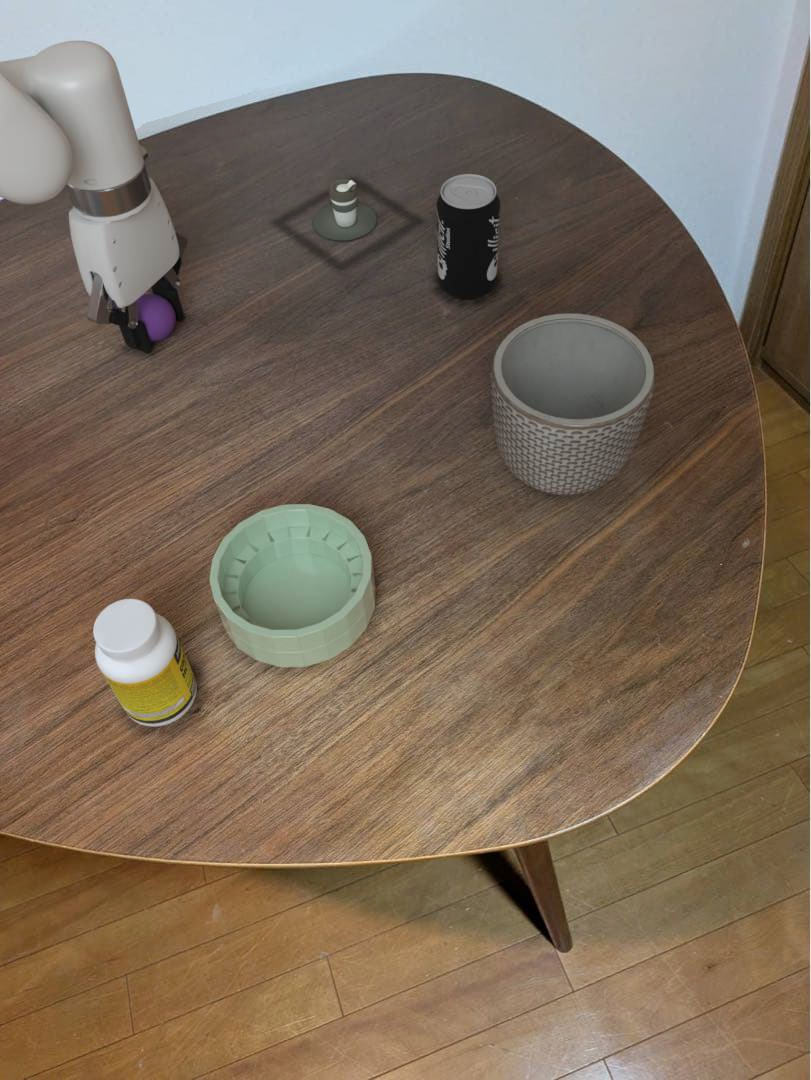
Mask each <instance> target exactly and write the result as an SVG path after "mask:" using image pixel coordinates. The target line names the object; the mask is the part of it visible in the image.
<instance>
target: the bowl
mask: <svg viewBox="0 0 811 1080" xmlns="http://www.w3.org/2000/svg"><path fill="white" fill-rule="evenodd" d="M374 572H375V571H374V564H373V556H372V553H371V550H370V547H369V545H368V542H367V539H366V536H365V535H364V534H363V533H362V532H361V530H360V529H359V528H358V527H357V526H356V525H355V523H353V521H352V520H350V519H349V518H347V517H345V516H344V515H342V514H340V513H338V512H337V511H335V510H333V509H331V508H328V507H323V506H319V505H314V504H312V503H292V504H291V503H290V504H289V503H288V504H280V505H276V506H273V507H270V508H265V509H262V510H259V511H258V512H256V513H254V514H252V515H251V516H249V517H247V518H246V519H244V520H242V521H240V522H238V523H237V525H235V527H234V528H233V529H232V530H231V531H229V532H228V533H227V534H226V535H225V536H224V537H223V539H222V540H221V541H220V544H219V546H218V547H217V549H216V551H215V553H214V555H213V557H212V559H211V565H210V572H209V577H208V578H209V584H210V589H211V592H212V593H211V594H212V597H213V601H214V603H215V606H216V609H217V612H218V614H219V617H220V620H221V622H222V626H223V628H224V630H225V632H226V634H227V635H228V636H229V638H230V639H231V641H232V642H233V643H234V645H235V646H236V648H238V649H239V650H240V651H242V652H243V653H244V654H246V655H247V656H248V657H251V658H252V659H253V660H255V661H257V662H260V663H264V664H267V665H271V666H274V667H278V668H306V667H309V666H313V665H317V664H320V663H323V662H326V661H330V660H332V659H333V658H334V657H337V656H338V655H340V654H341V653H343V652H344V651H346V650H347V649H349V648H350V647H352V646H353V645H354V643H355V642H356V641H357V640H358V639H359V638H360V637H361V636H362V634H363V633H364V632H365V631H366V630H367V628H368V626H369V624H370V621H371V619H372V616H373V614H374V611H375V609H376V608H375V607H376V590H377V589H376V581H375V573H374Z"/></svg>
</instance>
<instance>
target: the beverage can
mask: <svg viewBox="0 0 811 1080" xmlns="http://www.w3.org/2000/svg"><path fill="white" fill-rule="evenodd" d="M497 191H498V190H497V186H496V184H495V183H494V182H493V181H492V179H489V178H488V177H486V176H483V175H480V174H474V173H464V174H458V175H455V176H452V177H449V178H448V179H447V180H445V182H444V183H443V184H442V185H441V187H440V194H439V196H438V197H437V200H436V246H437V247H436V248H437V249H436V250H437V281H438V284H439V287H440V288H441V289H442V290H443V291H444V292H446V293H447V294H448V295H449V296H450V297H451V298H452V297H453V298H455V299H457V300H461V301H462V300H464V301H470V300H471V301H472V300H476V299H480V298H481V297H484V296H486V295H487V294H488V293H489V292H491V291H492V290H493V289H494V288H495V286H496V284H497V281H498V268H499V267H498V265H499V244H500V242H499V241H500V240H499V239H500V217H501V199H500V197H499V195H498V193H497Z"/></svg>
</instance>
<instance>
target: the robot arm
mask: <svg viewBox="0 0 811 1080" xmlns="http://www.w3.org/2000/svg"><path fill="white" fill-rule="evenodd" d="M148 157H149V153H148V151H147V149H146V148H145V147H144V146H143V145H140V142H139V137H138V135H137V132H136V128H135V124H134V120H133V117H132V114H131V110H130V107H129V103H128V99H127V96H126V93H125V88H124V85H123V82H122V78H121V75H120V71H119V68H118V66H117V62H116V61H115V59H114V57H113V56H112V54H111V53H110V52H109V51H108V50H107V49H105V47H103V46H102V45H100V44H98V43H95V42H93V41H87V40H67V41H62V42H58V43H55V44H52V45H49V46H47V47H46V48H44V49H42V50H40V51H39V52H38V53H36V54H35V55H32V56H31V55H30V56H26V57H22V58H16V59H9V60H4V61H3V60H2V61H0V198H2V199H4V200H7V201H9V202H12V203H15V204H19V205H37V204H42V203H46V202H48V201H50V200H52V199H53V198H56V196H58V195H59V194H60V193H61V192H62V191H63V190H64V189H65V187H66V189H67V192H68V195H69V198H70V200H71V203H72V206H73V207H72V208H71V209H70V211H68V222H69V223H68V224H69V225H68V226H69V232H70V237H71V238H70V239H71V243H72V248H73V251H74V256H75V259H76V263H77V266H78V270H79V274H80V276H81V280H82V283H83V285H84V288H85V290H86V293H87V294H88V296H89V297H90V298H89V301H88V302H89V303H88V307H87V314H86V318H87V320H88V321H90V322H93V323H96V324H98V325H109V324H110V325H111V324H112V325H115V326H118V327H119V330H120V332H121V335H122V339H123V340H124V343H125V345H126V346H127V347H129V349H133V350H137V351H139V352H143V353H145V354H147V355H149V354H151V352H152V351H153V345H152V342H151V341H150V340H149V337H148V334H147V331H146V327H145V325H144V323H143V322H141V321H139V320H138V311H137V299H138V298H139V297H141V296H142V295H144V294H146V292H147V291H148V290H150V289H151V291H152V294H156V295H159V296H162V297H163V298H165V299H166V300H167V301H169V303H170V304H171V305H172V307H173V309H174V311H175V315H176V322H179V323H180V322H181V323H182V322H183V321H184V320H185V319H186V316H185V312H184V309H183V305H182V301H181V298H180V294H179V292H178V288H179V287H180V286H181V279H180V277H179V273H180V270H181V267H182V263H183V260H182V257H183V255H184V252H185V250H186V247H187V244H188V238H187V237H186V236H184V235H182V234H180V233H179V232H176V230H175V226H174V224H173V222H172V218H171V216H170V213H169V210H168V207H167V206H166V203H165V201H164V199H163V197H162V194H161V192H160V190H159V189H158V187H157V185H156V184H155V182H154V180H153V179H152V178H151V177H150V176H149V173H148V171H147V167H146V162H145V161H146V159H148ZM124 308H125V309H124ZM122 309H124V311H123V310H122Z"/></svg>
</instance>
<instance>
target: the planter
mask: <svg viewBox="0 0 811 1080" xmlns="http://www.w3.org/2000/svg"><path fill="white" fill-rule="evenodd" d="M653 360H654V359H653V357H652V355H651V353H650V351H649V349H648V348H647V347H646V345H645V344H644V343H643V342H642V340H641V339H639V338H638V337H637V336H636V335H635V333H633V332H631V331H630V330H628V329H627V328H626V327H623V326H621V325H619V324H617V323H615V322H613V321H611V320H608V319H605V318H603V317H598V316H595V315H591V314H583V313H555V314H550V315H544V316H541V317H536V318H534V319H531V320H528V321H526V322H524V323H522V324H520V325H519V326H517V327H515V328H514V329H513V330H511V331H510V332H509V333H508V334H506V335H505V337H504V338H503V339H502V340H501V341H500V343H499V344H498V346H497V348H496V350H495V352H494V355H493V359H492V363H491V369H490V370H491V371H490V394H491V413H492V422H493V431H494V436H495V442H496V445H497V446H496V447H497V449H498V453H499V455H500V457H501V459H502V462H503V463H504V465H505V466H506V467H507V469H508V470H509V472H511V474H512V475H513V476H514V477H516V479H518V480H519V481H521V482H522V483H524V484H525V485H527V486H528V487H530V488H532V489H535V490H537V491H539V492H543V493H546V494H550V495H555V496H574V495H581V494H586V493H589V492H592V491H595V490H598V489H600V488H602V487H604V486H606V485H607V484H608V483H610V482H611V481H612V480H614V478H616V477H617V476H618V475H619V474H620V473H621V472H622V470H623V469H624V467H625V466H626V464H627V463H628V461H629V460H630V458H631V456H632V453H633V451H634V450H635V447H636V444H637V442H638V439H639V436H640V433H641V431H642V429H643V426H644V424H645V420H646V416H647V413H648V410H649V408H650V404H651V402H652V397H653V394H654V389H655V383H656V379H655V378H656V369H655V364H654V361H653Z"/></svg>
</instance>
